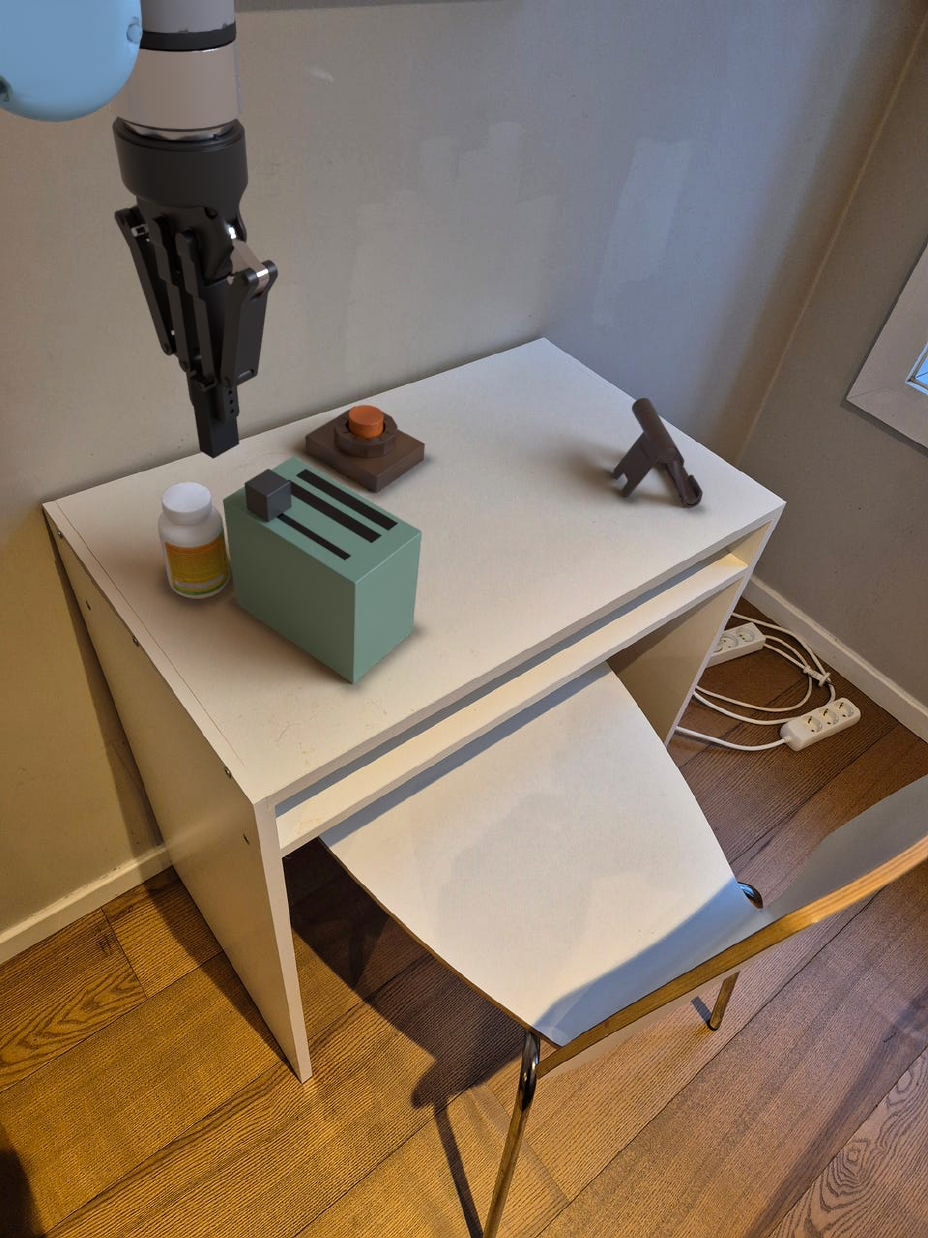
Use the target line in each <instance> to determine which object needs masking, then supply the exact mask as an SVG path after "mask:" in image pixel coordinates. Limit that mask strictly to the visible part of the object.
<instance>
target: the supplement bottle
mask: <svg viewBox="0 0 928 1238" xmlns="http://www.w3.org/2000/svg"><path fill="white" fill-rule="evenodd" d="M160 503H161V508H162V512H161V514H160V515H159V518H158V520H157V532H158V535H159V541H160V545H161V551H162V555H163V561H164V566H165V572H166V575H167V580H168V583H169V586H170V587H171V589H172V590H173V591H174V593H176V594H178V595H180V596H182V597H185V598H189V599H194V600H195V599H201V600H202V599H205V598H206V599H207V598H210V597H212V596H215V595H217V594H219V593H220V592H222V591H223V590H224V589H225V588H226V586H227V585H228V584H229V581H230V576H231V575H230V566H229V565H230V564H229V559H228V551H227V544H226V536H225V527H224V522H223V521H224V520H223V517H222V514H221V512H220V511H219V510H218V509H217V507H215V506H214V505H213V501H212V495H211V492H210V490H209V489H208V488H207V487H206V486H204V485H203V484H200V483H196V482H192V481H191V482H190V481H186V482H178V483H174V484H172V485H171V486H169V487H167V488H165V490H164V491H163V492H162V494H161V497H160Z"/></svg>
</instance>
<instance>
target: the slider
mask: <svg viewBox="0 0 928 1238" xmlns="http://www.w3.org/2000/svg"><path fill="white" fill-rule="evenodd" d="M244 486H245V494H246V504H247V509H248V510H250V511H251V512H253V513H255V514H256V515H258V516H259V517H261V518H262V519H264V520H266V521H267V522H270V521H271V520H273V519H274V518H276V517H277V516H279V515H280V514H282V513H283V512H285V511H286V510H288V509H289V508H291V507H292V503H291V484H290V481H289V480H287V479H285V478H284V477H282V476H280V475H279V474H277V473H275V472H274V471H272V469H270V468H267V469H265V470H264V471H262V472H260V473H258V474H257V475H255V476H254V477H252V478H251V479H249V480H247V481H245V482H244Z"/></svg>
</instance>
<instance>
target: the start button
mask: <svg viewBox="0 0 928 1238" xmlns="http://www.w3.org/2000/svg"><path fill="white" fill-rule="evenodd" d="M355 406H356V407H354V406H353V407H354V408H353V407H351V408H352V409H351V408H350V409H351V410H350V412H349V431H350V432H351V433H352V434H354V435H356V436H359V437H365V438H370V437H376V436H379V435H380V434H381V433H382V431H383V413H382V412H383V411H382V410H381V409H380V408H378V407H376V406H373V405H368V404H361V405H355Z"/></svg>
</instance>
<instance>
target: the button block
mask: <svg viewBox="0 0 928 1238" xmlns="http://www.w3.org/2000/svg"><path fill="white" fill-rule="evenodd" d="M356 406H357V405H355V406H353V407H351V408H350V409H349V408H348V409H347V410H345V411H344V412H342V413H340V414H339V415H337V416H336V417H334V418H333V419H331V420H329V421H328V422H326V423H324V424H322V425H321V426H319V427H317V428H316V429H314V430H312V431H311V432H310V433H307V434H306V435H305V436H304V440H305V441H304V442H305V453H306V454H308V455H309V456H311V457H313V458H315V459H316V460H317V461H319V462H321V463H323V464H325V465H326V466H328V467H330V468H331V469H333V470H335V471H337V472H338V473H340V474H342V475H344V476H345V477H347V478H349V479H351V480H352V481H354V482H355V483H357V484H359V485H361V486H363V487H364V488H366V489H368V490H370V491H371V492H373V493H375V494H377V493H379V492H380V491H382V490H383V489H384V488H386V487H387V486H389V485H390V484H392V483H393V482H394V481H396V480H397V479H399V478H400V477H402V476H403V475H404V474H406V473H408V472H409V471H410V470H411V469H413V468H414V467H416V466H417V465H419V464H420V463H422V462H423V461H424V459H425V448H426V447H425V446H426V443H424V442H422V441H420V440H419V439H417V438H415V437H413V436H411V435H410V434H408V433H406V432H404V431H402V430H400V429H399V428H398V424H397V423H396V421H395V419H394V418H393V416H392V415H390V414H388V413H386V412H384V411H382V413H383V431H382V433H381V434H380V435H379V436H376V437H370V438H365V437H359V436H356V435H354V434H352V433H351V432H350V431H349V412H350V410H351V409H352V408H354V407H356Z"/></svg>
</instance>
